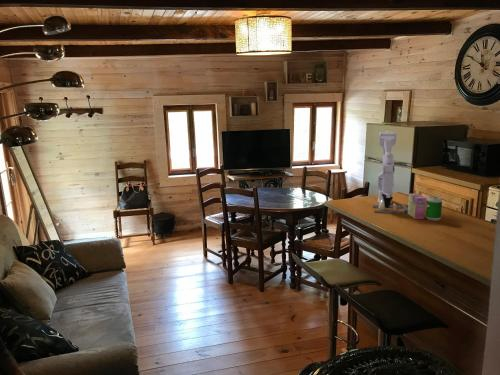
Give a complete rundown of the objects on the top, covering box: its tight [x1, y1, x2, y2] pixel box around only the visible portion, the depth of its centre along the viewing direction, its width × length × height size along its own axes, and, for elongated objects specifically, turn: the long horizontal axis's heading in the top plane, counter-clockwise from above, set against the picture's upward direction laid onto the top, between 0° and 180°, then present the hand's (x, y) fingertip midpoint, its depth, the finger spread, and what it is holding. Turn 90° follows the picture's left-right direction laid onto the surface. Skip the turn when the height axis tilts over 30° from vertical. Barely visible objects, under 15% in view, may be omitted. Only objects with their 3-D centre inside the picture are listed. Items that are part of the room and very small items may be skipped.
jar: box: [377, 198, 387, 210], centre depth 243 cm, size 5×5×6 cm
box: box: [407, 193, 427, 220], centre depth 228 cm, size 10×6×12 cm, turn 179°
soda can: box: [425, 196, 443, 222], centre depth 222 cm, size 8×8×12 cm
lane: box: [372, 204, 409, 215], centre depth 243 cm, size 13×18×2 cm
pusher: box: [392, 203, 398, 211], centre depth 242 cm, size 10×1×2 cm, turn 167°
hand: (386, 206), depth 243 cm, fingers closed on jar, 5 cm apart
